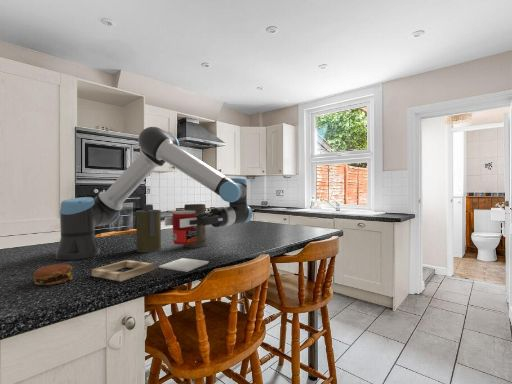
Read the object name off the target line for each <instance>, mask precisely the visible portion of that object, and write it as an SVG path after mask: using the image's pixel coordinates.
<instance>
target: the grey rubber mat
mask: <svg viewBox="0 0 512 384" xmlns="http://www.w3.org/2000/svg"><path fill="white" fill-rule="evenodd" d="M207 264H209V260H201V259H200V260H199V259H193V258H184V257H181V258H178V259H176V260H173V261H169V262H167V263H163V264H160V265H158V268H160V269H166V270H173V271H179V272H186V273H187V272H190V271H193V270H195V269H197V268H200V267H203V266H204V265H207Z"/></svg>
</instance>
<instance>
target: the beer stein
mask: <svg viewBox="0 0 512 384" xmlns="http://www.w3.org/2000/svg"><path fill="white" fill-rule="evenodd" d="M206 209H207V207H206V204H205V203H194V204H193V203H192V204H191V203H190V204H187V203H186V204H184V208H183V211H195V212H196V215H197V214H204V213H206ZM201 216H202V215H201ZM206 231H207V230H206V225H205V226H204V225H200V226H199V225H198V224H197V226H196V242H195V243H193V244H186V245H183V247H185V248H189V249H194V248H196V249H197V248H203V247H206V246H207V245H208V241H207V239H208V238H207V233H206Z"/></svg>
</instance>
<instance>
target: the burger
mask: <svg viewBox="0 0 512 384" xmlns="http://www.w3.org/2000/svg"><path fill="white" fill-rule="evenodd" d="M72 270H73V267H72V265H69V264H67V263H66V264H64V263H63V264H61V263H60V264H58V263H57V264H50V265H46V266H42V267H40V268H37V269H36V270H35V271H34V272H33V275H32V276H33V278H34V285H36V286H51V285H56V284H61V283H66V282H67V281H72V280H73V276H72V273H71V271H72Z"/></svg>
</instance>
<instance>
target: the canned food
mask: <svg viewBox="0 0 512 384" xmlns="http://www.w3.org/2000/svg"><path fill="white" fill-rule="evenodd" d="M172 217H173V225H172V241H173V244H174V245H180V246H181V245H183V246H184V245H186V244H193V243H195V242H196V226H190V227H183V228H180V219H187V218H196V212H195V211H184V210H174V211H172Z"/></svg>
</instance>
